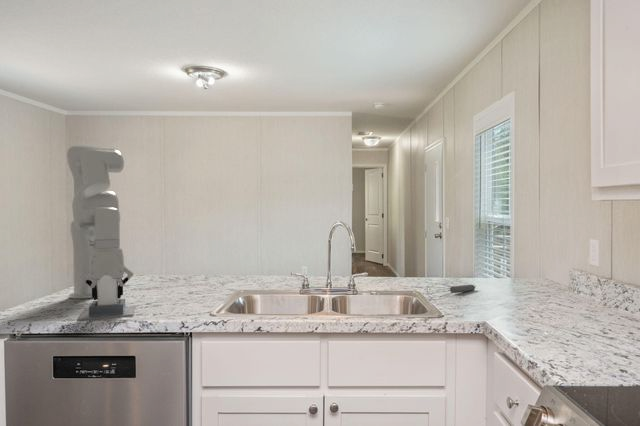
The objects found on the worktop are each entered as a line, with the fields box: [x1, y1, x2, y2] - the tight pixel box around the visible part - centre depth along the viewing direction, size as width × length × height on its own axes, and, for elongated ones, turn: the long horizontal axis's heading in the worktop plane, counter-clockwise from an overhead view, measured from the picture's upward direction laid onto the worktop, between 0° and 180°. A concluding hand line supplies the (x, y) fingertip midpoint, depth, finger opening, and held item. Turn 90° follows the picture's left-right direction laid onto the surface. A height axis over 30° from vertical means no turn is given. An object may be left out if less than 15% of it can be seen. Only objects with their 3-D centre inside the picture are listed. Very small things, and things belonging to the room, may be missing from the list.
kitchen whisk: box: [425, 282, 476, 301], centre depth 169 cm, size 6×34×6 cm, turn 131°
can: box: [96, 273, 120, 306], centre depth 142 cm, size 6×6×12 cm
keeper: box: [76, 298, 136, 322], centre depth 142 cm, size 14×16×4 cm
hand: (107, 298), depth 142 cm, fingers open, 6 cm apart
